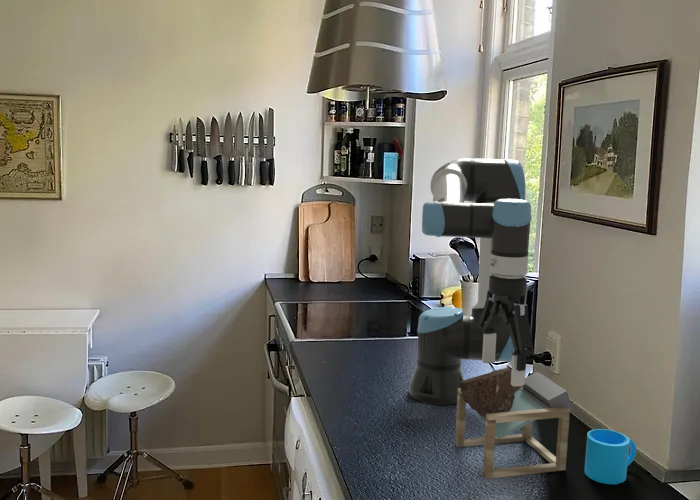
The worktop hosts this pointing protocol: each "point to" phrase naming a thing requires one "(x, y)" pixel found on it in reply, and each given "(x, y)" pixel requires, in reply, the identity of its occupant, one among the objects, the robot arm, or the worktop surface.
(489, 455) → the frame
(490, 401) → the rock
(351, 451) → the worktop surface
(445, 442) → the worktop surface
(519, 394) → the trapdoor
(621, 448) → the mug
